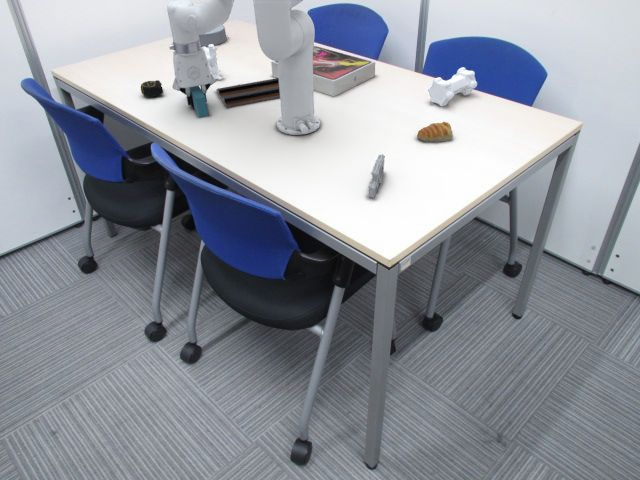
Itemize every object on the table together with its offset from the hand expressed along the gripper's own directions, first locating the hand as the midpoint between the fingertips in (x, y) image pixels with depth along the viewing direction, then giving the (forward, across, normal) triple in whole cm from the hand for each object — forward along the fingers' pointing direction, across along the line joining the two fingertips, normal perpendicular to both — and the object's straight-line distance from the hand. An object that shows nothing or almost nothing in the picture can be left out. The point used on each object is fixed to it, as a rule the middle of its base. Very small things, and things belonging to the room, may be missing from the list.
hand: (198, 104), depth 167 cm
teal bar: (+1, 0, 0) cm, 1 cm away
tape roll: (+1, +17, +62) cm, 64 cm away
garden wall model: (+1, +30, -64) cm, 71 cm away
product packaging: (+1, +45, +6) cm, 45 cm away
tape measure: (+1, -11, +16) cm, 19 cm away
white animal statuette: (+1, +10, +21) cm, 23 cm away
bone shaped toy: (+1, +74, -29) cm, 79 cm away
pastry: (+1, +56, -49) cm, 74 cm away
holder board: (+1, +19, +2) cm, 19 cm away
